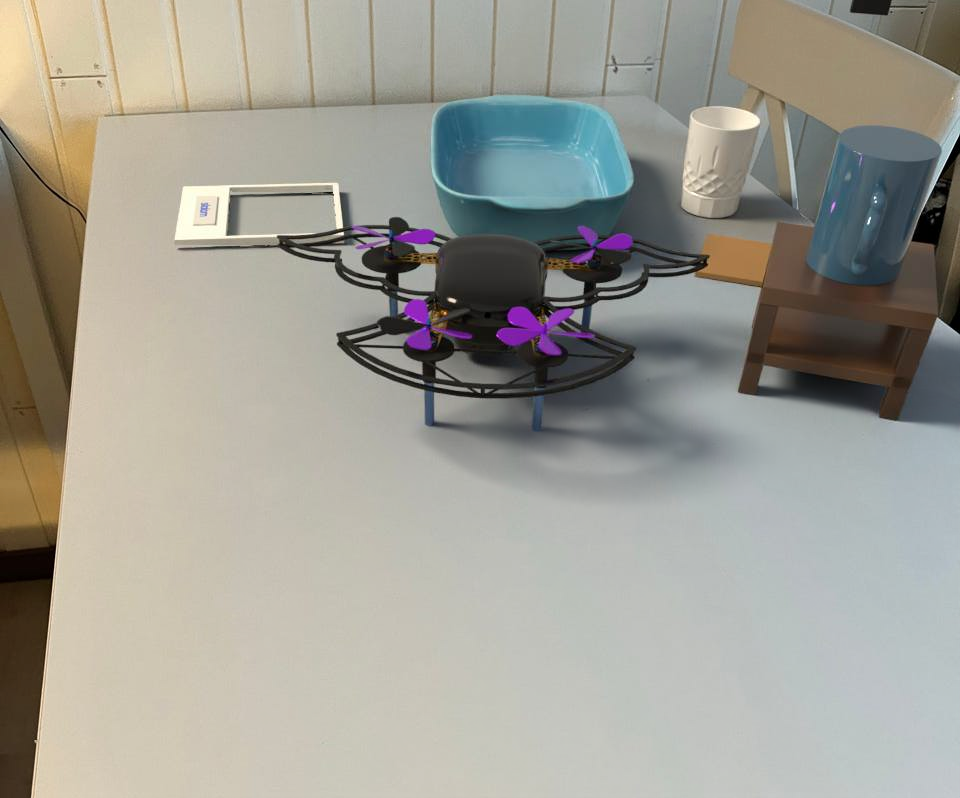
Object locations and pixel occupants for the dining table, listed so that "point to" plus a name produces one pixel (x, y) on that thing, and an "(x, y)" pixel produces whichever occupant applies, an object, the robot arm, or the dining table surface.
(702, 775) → the dining table surface
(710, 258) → the cork mat
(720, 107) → the white cup
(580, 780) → the dining table surface
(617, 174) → the casserole dish
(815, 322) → the walnut side table
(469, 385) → the drone
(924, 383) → the dining table surface
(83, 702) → the dining table surface
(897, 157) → the mug
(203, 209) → the photo frame
